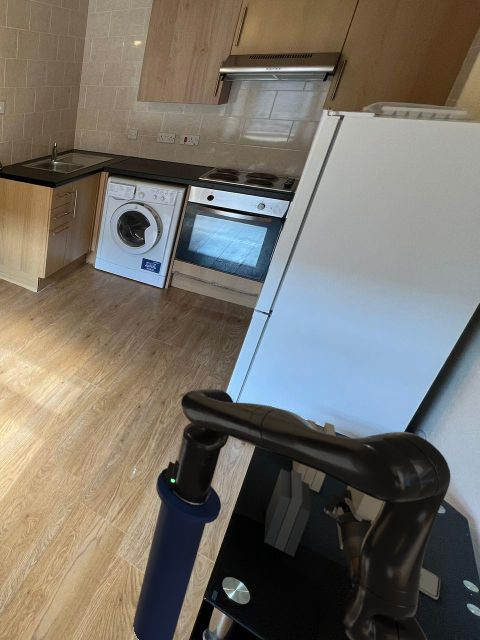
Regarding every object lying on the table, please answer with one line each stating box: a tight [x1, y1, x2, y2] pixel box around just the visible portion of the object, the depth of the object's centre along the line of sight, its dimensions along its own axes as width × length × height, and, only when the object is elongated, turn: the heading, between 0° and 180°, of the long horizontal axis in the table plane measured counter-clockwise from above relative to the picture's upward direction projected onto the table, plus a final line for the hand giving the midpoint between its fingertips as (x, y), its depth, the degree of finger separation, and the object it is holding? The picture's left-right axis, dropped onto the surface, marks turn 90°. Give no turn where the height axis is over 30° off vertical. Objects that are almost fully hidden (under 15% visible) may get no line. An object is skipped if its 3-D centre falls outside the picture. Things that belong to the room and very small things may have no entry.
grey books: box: [263, 468, 312, 557], centre depth 101 cm, size 6×10×16 cm, turn 143°
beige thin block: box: [336, 485, 383, 551], centre depth 92 cm, size 3×11×16 cm, turn 143°
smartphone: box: [419, 567, 441, 600], centre depth 97 cm, size 7×1×15 cm
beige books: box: [292, 419, 336, 493], centre depth 119 cm, size 6×10×17 cm, turn 143°
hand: (357, 496), depth 94 cm, fingers closed on beige thin block, 3 cm apart
